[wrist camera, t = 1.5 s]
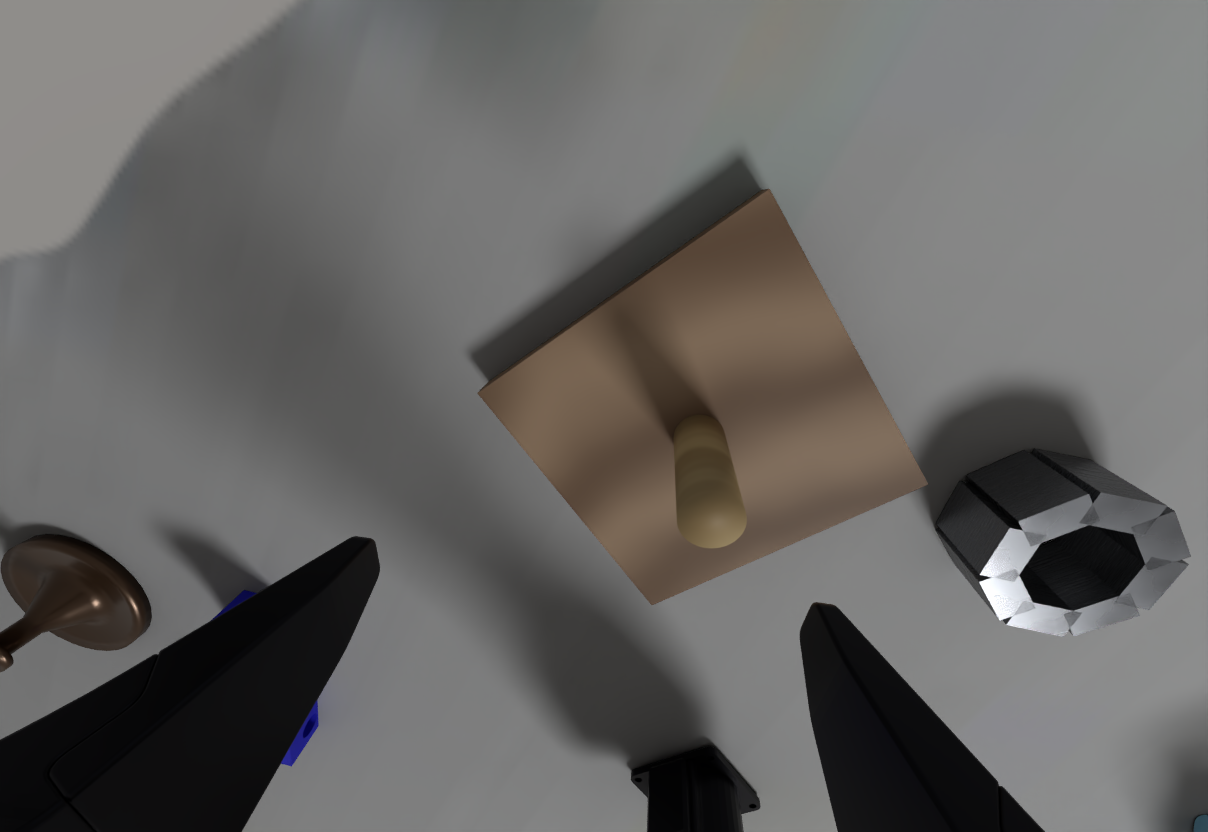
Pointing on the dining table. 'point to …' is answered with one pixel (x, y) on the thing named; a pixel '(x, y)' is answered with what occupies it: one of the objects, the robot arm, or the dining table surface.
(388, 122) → the dining table surface
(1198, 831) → the chair
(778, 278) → the post block
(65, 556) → the candlestick
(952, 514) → the ring
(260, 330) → the dining table surface
